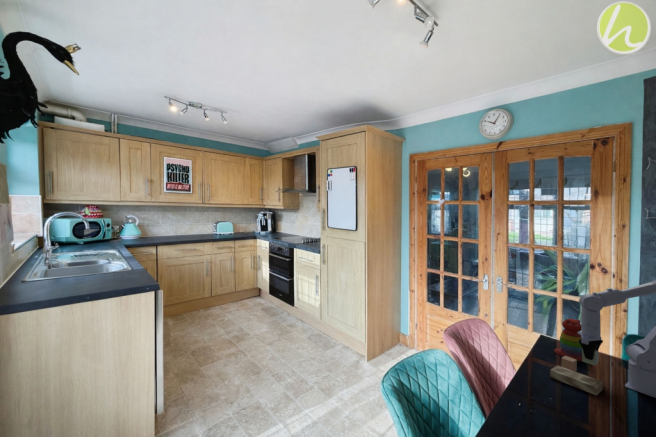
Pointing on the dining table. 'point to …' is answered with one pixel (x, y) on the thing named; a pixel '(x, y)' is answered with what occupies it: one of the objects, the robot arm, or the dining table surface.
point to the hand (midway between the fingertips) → (590, 357)
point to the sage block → (595, 358)
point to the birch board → (577, 380)
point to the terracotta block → (569, 363)
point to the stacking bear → (570, 340)
